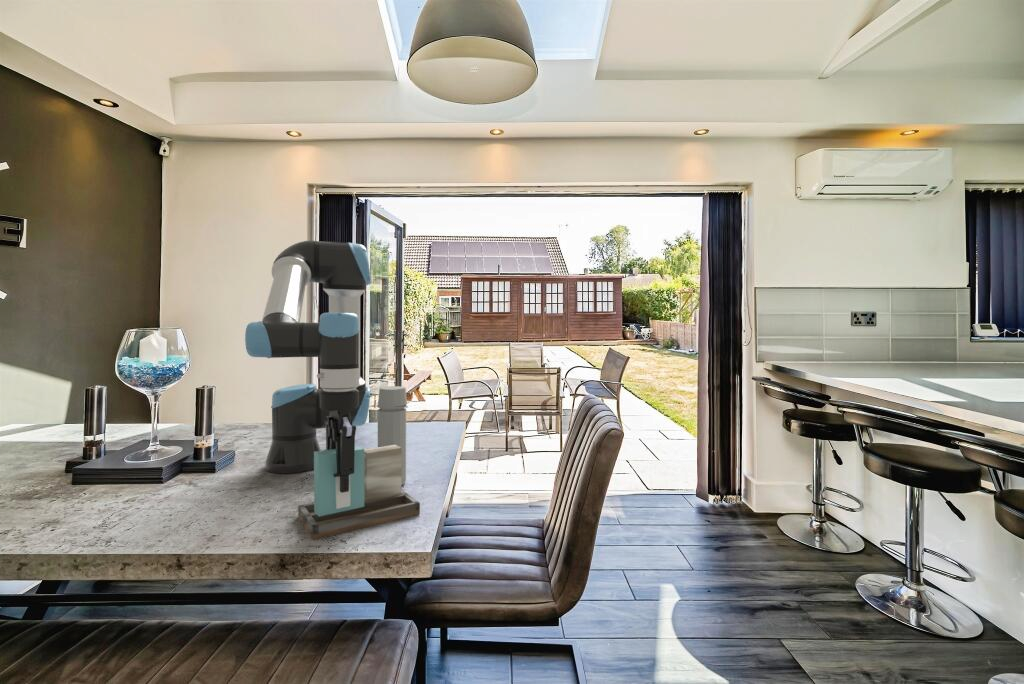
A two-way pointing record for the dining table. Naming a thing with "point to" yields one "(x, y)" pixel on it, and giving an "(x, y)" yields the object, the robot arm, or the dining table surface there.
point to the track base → (368, 498)
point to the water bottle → (393, 421)
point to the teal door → (326, 482)
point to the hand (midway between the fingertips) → (339, 503)
